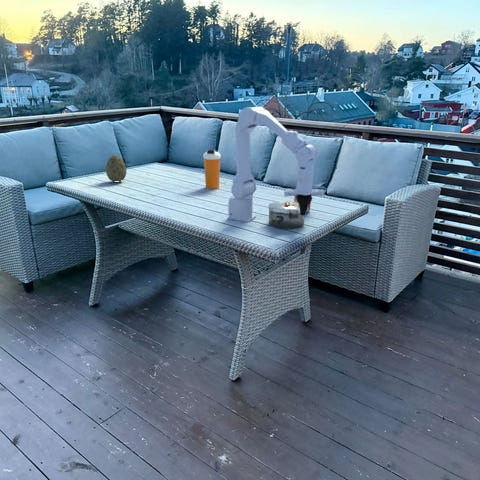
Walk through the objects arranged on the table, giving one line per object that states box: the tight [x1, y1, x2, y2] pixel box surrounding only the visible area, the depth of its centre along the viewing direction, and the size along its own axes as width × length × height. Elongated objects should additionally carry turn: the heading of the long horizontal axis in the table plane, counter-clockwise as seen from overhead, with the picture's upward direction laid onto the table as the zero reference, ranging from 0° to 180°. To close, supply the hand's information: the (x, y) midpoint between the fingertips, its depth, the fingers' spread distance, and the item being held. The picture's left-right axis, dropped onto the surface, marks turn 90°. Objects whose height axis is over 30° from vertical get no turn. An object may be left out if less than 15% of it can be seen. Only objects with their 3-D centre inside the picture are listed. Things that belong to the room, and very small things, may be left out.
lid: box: [267, 200, 300, 218], centre depth 158 cm, size 15×19×2 cm
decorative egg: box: [105, 154, 127, 182], centre depth 226 cm, size 11×11×15 cm
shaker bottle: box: [202, 148, 221, 190], centre depth 215 cm, size 9×9×20 cm
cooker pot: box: [268, 209, 306, 230], centre depth 160 cm, size 14×19×6 cm
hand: (302, 214), depth 153 cm, fingers closed
